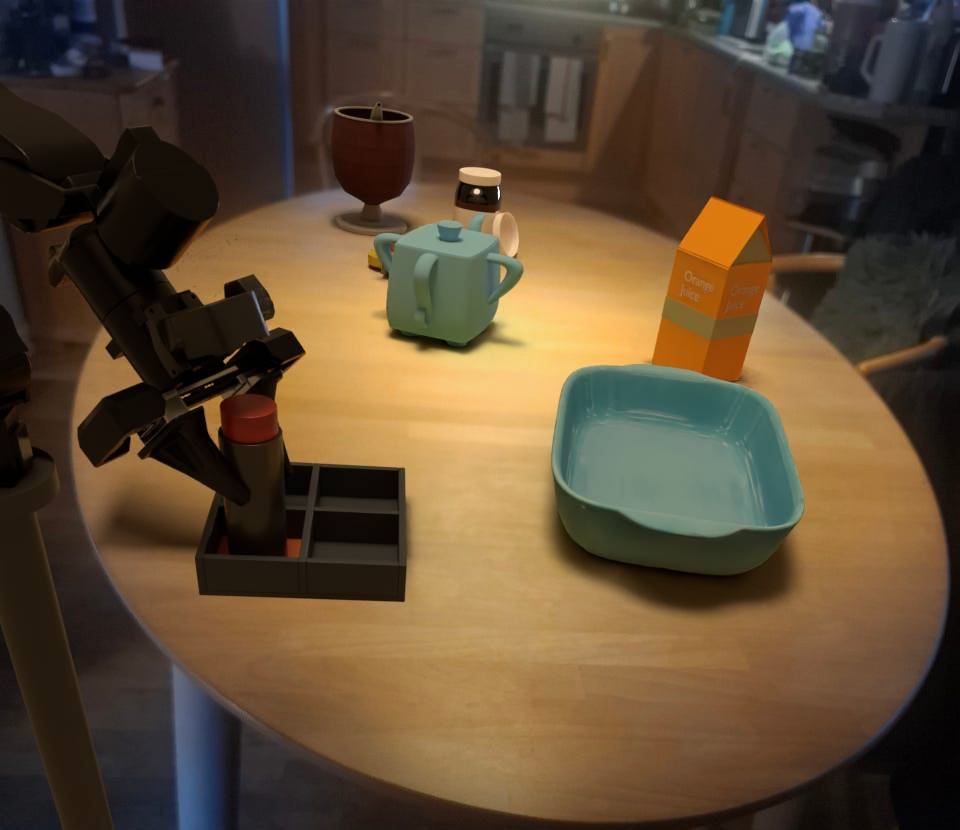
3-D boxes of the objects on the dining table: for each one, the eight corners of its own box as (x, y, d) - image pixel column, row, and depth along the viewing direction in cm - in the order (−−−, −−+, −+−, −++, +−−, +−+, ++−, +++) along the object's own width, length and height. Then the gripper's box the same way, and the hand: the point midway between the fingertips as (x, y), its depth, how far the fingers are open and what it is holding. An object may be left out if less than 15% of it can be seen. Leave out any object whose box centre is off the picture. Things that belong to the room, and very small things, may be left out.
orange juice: (697, 388, 111) (742, 216, 99) (650, 362, 116) (687, 196, 104) (740, 379, 115) (788, 213, 102) (692, 354, 120) (733, 194, 108)
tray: (199, 595, 68) (194, 557, 66) (229, 493, 81) (225, 458, 78) (404, 602, 70) (406, 565, 68) (403, 501, 82) (405, 467, 80)
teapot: (522, 352, 115) (536, 242, 107) (400, 356, 110) (405, 241, 101) (475, 304, 128) (484, 203, 120) (364, 306, 123) (365, 200, 114)
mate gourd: (329, 212, 159) (328, 82, 147) (406, 217, 162) (411, 90, 150) (334, 237, 148) (333, 98, 135) (417, 241, 150) (424, 105, 138)
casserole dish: (558, 406, 103) (568, 345, 98) (751, 434, 102) (769, 374, 97) (529, 583, 74) (540, 509, 69) (798, 625, 73) (827, 552, 68)
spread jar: (453, 237, 155) (458, 162, 147) (517, 244, 155) (526, 170, 148) (448, 256, 145) (454, 178, 138) (517, 264, 146) (526, 186, 138)
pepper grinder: (221, 548, 72) (206, 396, 64) (275, 536, 74) (267, 388, 66) (240, 578, 69) (227, 423, 61) (296, 565, 71) (291, 413, 63)
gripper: (75, 270, 52) (237, 497, 55) (282, 216, 65) (402, 401, 68) (12, 365, 59) (157, 560, 62) (208, 298, 72) (320, 462, 76)
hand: (267, 490), depth 67 cm, fingers closed on pepper grinder, 4 cm apart
